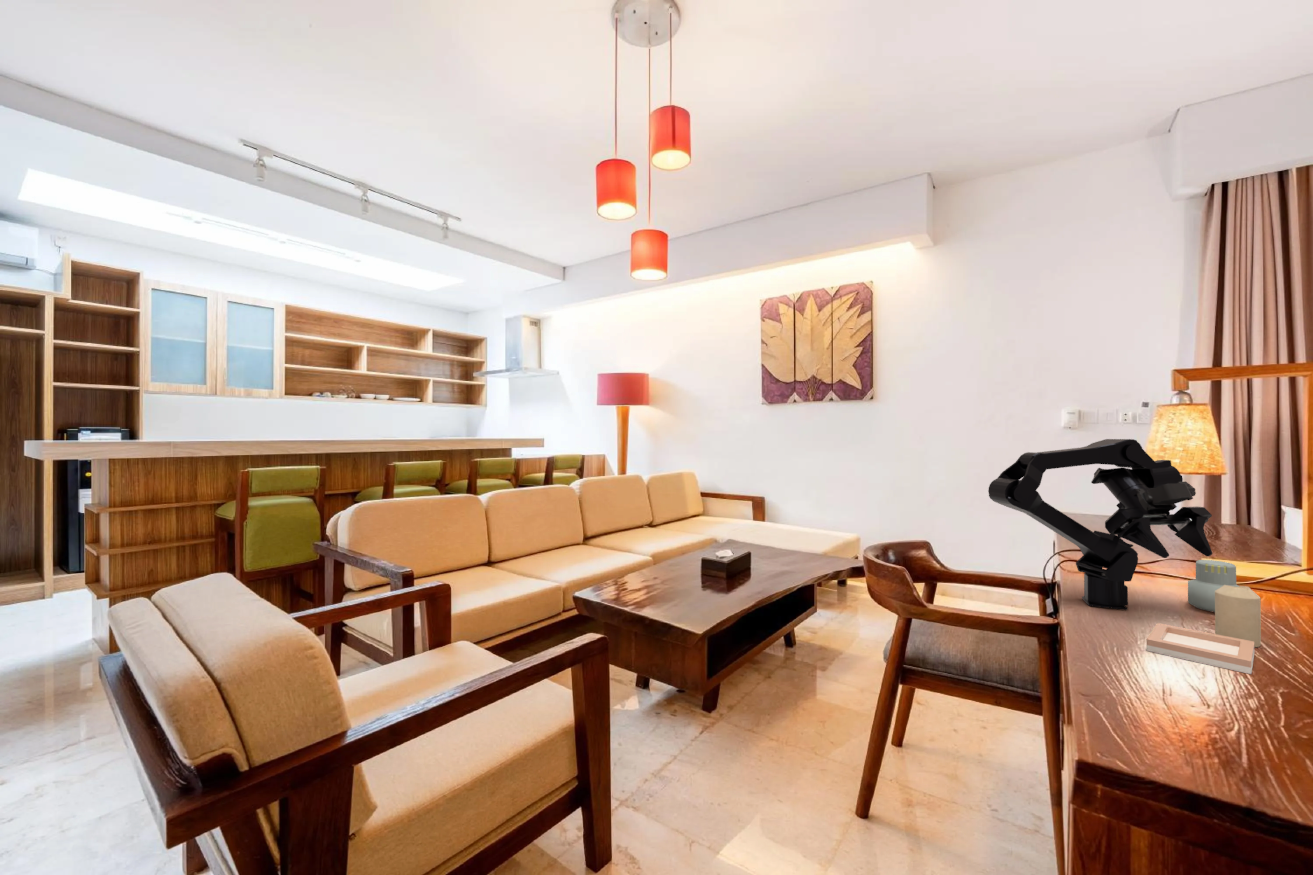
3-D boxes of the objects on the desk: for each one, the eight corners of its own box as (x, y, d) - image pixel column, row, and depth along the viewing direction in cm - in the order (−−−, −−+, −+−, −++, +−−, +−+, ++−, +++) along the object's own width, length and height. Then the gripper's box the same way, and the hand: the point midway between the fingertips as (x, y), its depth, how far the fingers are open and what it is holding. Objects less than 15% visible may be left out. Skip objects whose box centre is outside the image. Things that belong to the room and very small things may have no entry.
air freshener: (1188, 600, 119) (1188, 555, 119) (1243, 608, 113) (1242, 561, 113) (1187, 611, 111) (1187, 563, 111) (1246, 620, 105) (1246, 570, 105)
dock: (1251, 674, 82) (1251, 661, 82) (1146, 650, 91) (1146, 638, 91) (1254, 653, 90) (1254, 641, 90) (1157, 633, 99) (1157, 622, 99)
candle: (1246, 637, 97) (1246, 583, 97) (1269, 649, 91) (1269, 591, 91) (1207, 634, 98) (1207, 580, 98) (1228, 645, 93) (1227, 588, 93)
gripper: (1117, 469, 107) (1175, 533, 96) (1200, 467, 109) (1267, 530, 98) (1083, 503, 115) (1133, 566, 104) (1161, 501, 117) (1219, 562, 106)
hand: (1188, 556), depth 103 cm, fingers open, 9 cm apart
